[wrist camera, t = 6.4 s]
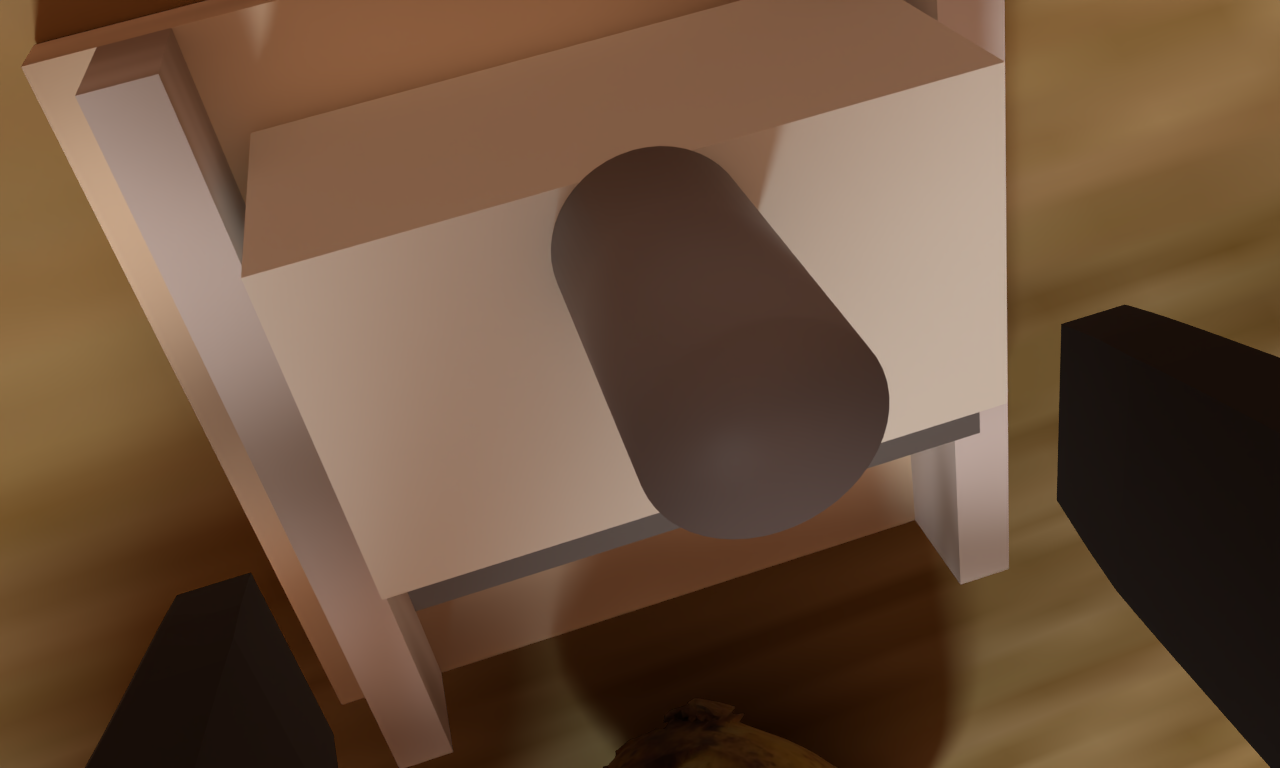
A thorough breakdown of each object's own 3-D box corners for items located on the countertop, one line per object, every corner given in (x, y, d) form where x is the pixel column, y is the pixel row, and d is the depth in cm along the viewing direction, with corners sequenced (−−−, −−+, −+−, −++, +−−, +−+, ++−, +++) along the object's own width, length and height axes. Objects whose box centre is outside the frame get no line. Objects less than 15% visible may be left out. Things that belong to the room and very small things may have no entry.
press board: (981, 463, 25) (1056, 552, 23) (339, 668, 24) (346, 787, 21) (966, -196, 18) (1074, -168, 15) (33, 44, 16) (-10, 118, 14)
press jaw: (879, 292, 21) (1180, 630, 14) (375, 443, 20) (423, 887, 13) (851, -44, 17) (1231, 177, 10) (245, 119, 16) (216, 482, 9)
